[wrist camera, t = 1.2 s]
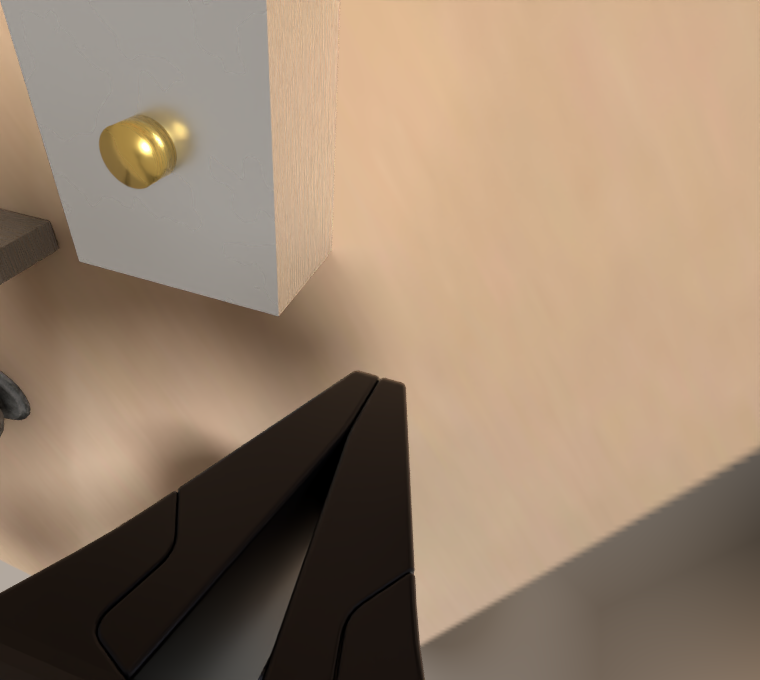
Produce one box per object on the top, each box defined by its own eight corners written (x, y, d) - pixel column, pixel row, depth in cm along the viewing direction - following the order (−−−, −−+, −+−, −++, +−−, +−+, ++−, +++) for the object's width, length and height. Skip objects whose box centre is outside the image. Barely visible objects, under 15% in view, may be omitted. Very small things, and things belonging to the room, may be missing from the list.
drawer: (334, 248, 22) (265, 333, 18) (148, 203, 24) (42, 270, 19) (345, -52, 16) (242, -39, 12) (92, -85, 18) (-85, -86, 13)
